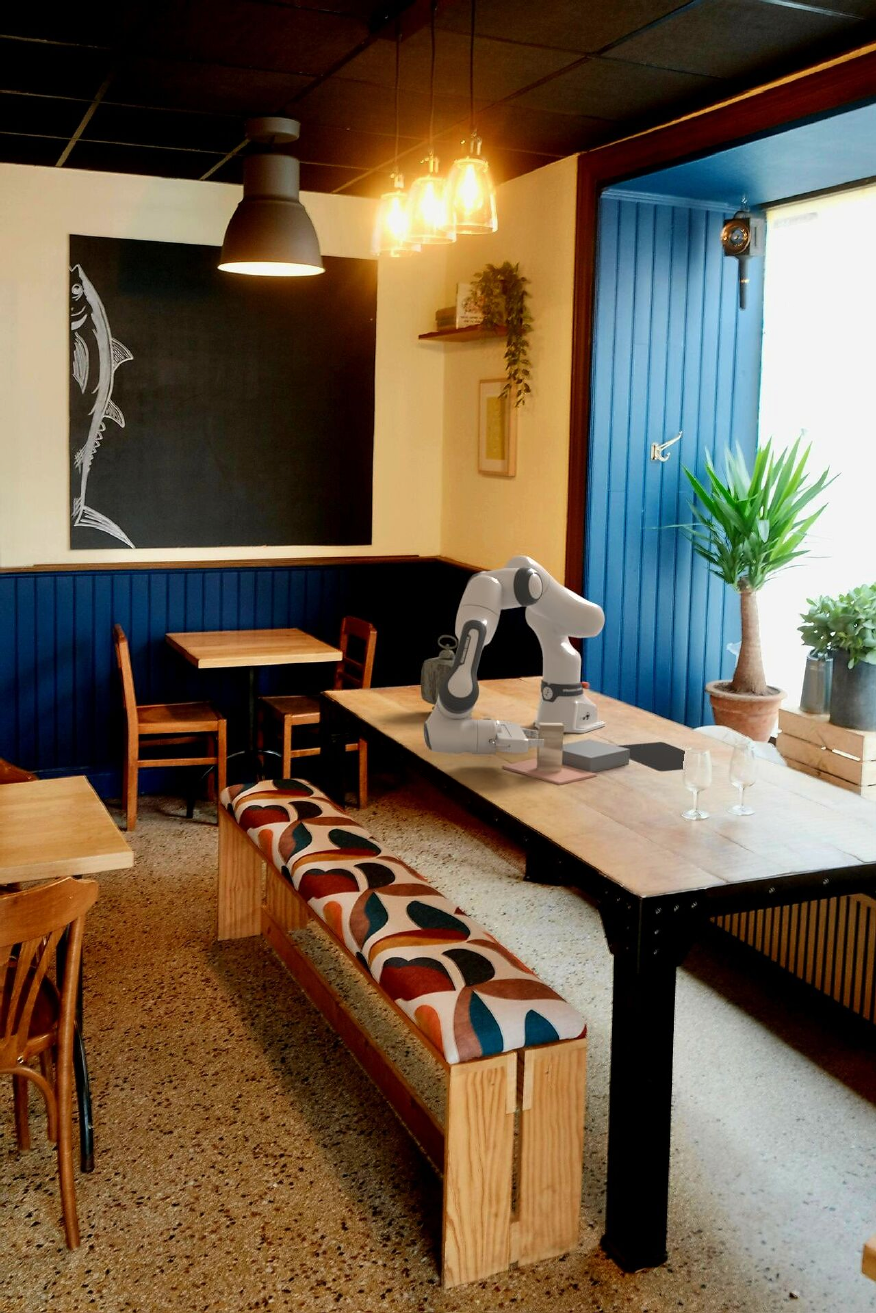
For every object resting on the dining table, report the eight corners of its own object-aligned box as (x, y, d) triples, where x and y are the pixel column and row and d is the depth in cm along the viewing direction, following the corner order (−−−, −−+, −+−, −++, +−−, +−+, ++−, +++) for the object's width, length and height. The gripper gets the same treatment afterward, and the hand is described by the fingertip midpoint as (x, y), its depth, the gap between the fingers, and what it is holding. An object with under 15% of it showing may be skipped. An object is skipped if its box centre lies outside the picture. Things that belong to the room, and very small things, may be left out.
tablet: (603, 746, 344) (662, 741, 352) (603, 749, 344) (661, 743, 352) (660, 771, 320) (721, 765, 328) (659, 773, 320) (721, 767, 329)
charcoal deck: (588, 753, 337) (589, 739, 336) (628, 763, 327) (629, 749, 326) (549, 761, 326) (550, 747, 325) (589, 773, 316) (590, 757, 315)
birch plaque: (536, 768, 317) (538, 722, 315) (559, 768, 317) (561, 723, 315) (538, 771, 314) (540, 725, 312) (561, 771, 314) (563, 725, 312)
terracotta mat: (538, 760, 327) (538, 757, 327) (596, 776, 313) (596, 773, 313) (502, 767, 318) (502, 765, 318) (559, 784, 304) (560, 782, 304)
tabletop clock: (472, 716, 378) (475, 636, 374) (456, 721, 371) (459, 639, 367) (432, 709, 386) (435, 631, 382) (416, 714, 379) (419, 634, 374)
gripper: (492, 734, 302) (548, 735, 303) (483, 716, 322) (536, 717, 323) (491, 759, 303) (546, 760, 304) (482, 740, 323) (534, 741, 324)
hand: (541, 738), depth 314 cm, fingers open, 8 cm apart
